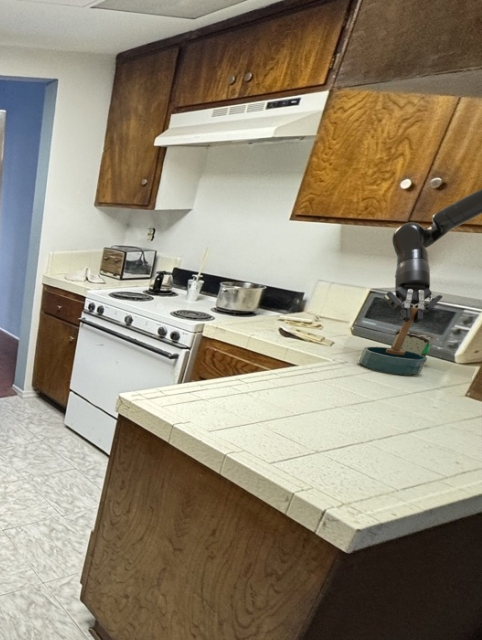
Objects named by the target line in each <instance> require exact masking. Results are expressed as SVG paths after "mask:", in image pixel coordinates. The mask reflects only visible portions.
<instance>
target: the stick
mask: <svg viewBox="0 0 482 640" xmlns="http://www.w3.org/2000/svg"><path fill="white" fill-rule="evenodd" d="M409 309H411V314H410V320H409V321H408V322H403V323H402V326H401V328H400V333H399V335H398V337H397V340H396V342H395V344H394V347H393V348H391V347H386V348H387V349H386V352H387V353H390V354H396V355H404V354H405V351H403V350H400V349H401V347H402V345H403V343H404V340H405V338H406V336H407V333H408V331H409V330H410V328H411V327H412V324H413V323H414V317H415V315H416V313H417V311H418V308H413V306H410V308H409Z"/></svg>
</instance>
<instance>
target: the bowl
mask: <svg viewBox="0 0 482 640" xmlns="http://www.w3.org/2000/svg"><path fill="white" fill-rule="evenodd" d="M387 348H388V347H387V346H386V347H385V346H364V348H363V350H362V353H361V355H360V357H359V360H358V363H359V364H361V366H362V367H364V368H366V369H369V370H373V371H376V372H380V373H385V374H390V375H396V376H397V375H398V376H414V375H418V374H421V373H422V370H423V368H424V366H425V364H426V363H427V360H428V357H427V356H426V357H425V356H423V355H420V354H417V353H414V352H409V351H405V350H403V351H405V354H404V355H396V354H390V353H387V352H386V349H387Z"/></svg>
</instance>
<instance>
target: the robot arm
mask: <svg viewBox="0 0 482 640" xmlns="http://www.w3.org/2000/svg"><path fill="white" fill-rule="evenodd" d="M481 215H482V188H481V189H479V190H477V191H474V192H472V193H471V194H469V195H468V194H467V195H466V196H465V197H463V198H461V199H459V200H457V201H454V202H452V203H451V204H449V205H447V206H446V207H443V208H442V209H440V210H438V211H436V212H435V213H434V214H432V215H431V221H432V224H430V225H429V227H427V228H425V227H424V226H422V225H421V224H420V223H418V222H406V223H403V224H401V225H400V226H398V227H397V228H396V229H395V231H394V232H393V234H392V237H391V241H392V247H393V249H394V252H395V255H396V270H395V275H394V278H395V281H394V282H395V285H394V287H395V288H394V291H387V292H386V294H384V296H383V299H384V300H385V301H386V303H387V304H388V305H389V307H391V309H392V310H393V311H399V312H400V320H401V321H403V323H404V322H408V321H409V320H410V314H411V309H410V308H411V305H412V308H418V311H417V313H416V315H415V317H414V320H413V323H414V324H418V323H419V322H421V321H422V320H423V319H424V314H427V313H428V312H429V311H430V310H431V309H432V308H434V307H435V305H437V304H438V303H439V302H440V301H441V300H442V298H443V295H441V294H439V295H435V294H433V292H432V290H431V289H430V288H431V269H430V264H429V252H428V250H427V248H429V247H430V246H432V245H434V243H436V242H438V240H440V239H441V238H443V237H444V236H445V235H447V234H448V233H449V232H450V231H451V230H453V229H456V228H457V227H459V226H461V225H463V224H465V223H467V222H470V221H472V220H473V219H475V218H477V217H479V216H481ZM427 299H428V304H427V305H426V306H425V302H426V301H425V300H427Z"/></svg>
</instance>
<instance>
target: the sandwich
mask: <svg viewBox="0 0 482 640" xmlns="http://www.w3.org/2000/svg"><path fill="white" fill-rule="evenodd" d="M400 330H401V328H400V329H396V330H395V331H394V332H393V334H392V335H393V340H392V343H391V346H390V348H393V347H394V344H395V342H396V340H397V337H398V335H399V333H400ZM437 344H438V336H437V335H435V334H432V333H428V332H424V331H417V330H412V329H411V330H410V329H409V331H408V333H407V336H406V338H405V340H404V343H403V345H402V347H401V349H400V350H405V351H409V352H414V353H417V354H420V355H423V356H425V357H427V355H428V353H429V352H430V350H431V348H432V347H433V346H434V345H437Z"/></svg>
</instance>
